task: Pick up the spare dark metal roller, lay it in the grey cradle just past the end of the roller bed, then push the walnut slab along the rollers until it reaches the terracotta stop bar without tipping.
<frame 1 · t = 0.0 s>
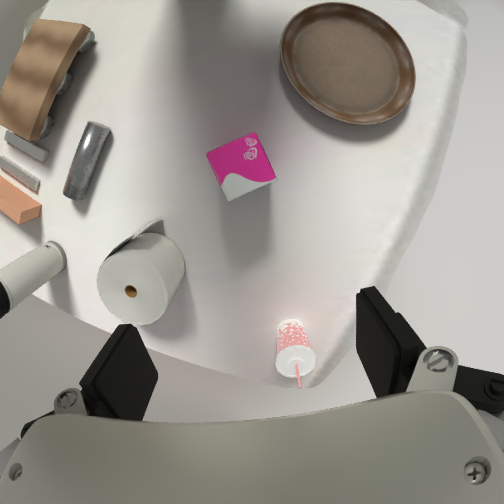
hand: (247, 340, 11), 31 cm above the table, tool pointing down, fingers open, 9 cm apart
beverage cup: (290, 329, 48), on the table
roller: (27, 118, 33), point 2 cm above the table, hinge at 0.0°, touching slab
middle roller: (44, 77, 30), point 2 cm above the table, hinge at 0.0°, touching slab
stop bar: (14, 192, 39), on the table
plant saucer: (346, 63, 33), on the table
toilet tissue: (152, 259, 44), on the table
cradle: (22, 158, 37), on the table
travel mug: (54, 255, 44), on the table
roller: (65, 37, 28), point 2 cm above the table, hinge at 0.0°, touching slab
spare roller: (91, 159, 38), on the table
supplement box: (244, 164, 39), on the table
slab: (38, 75, 29), point 4 cm above the table, touching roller, middle roller, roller
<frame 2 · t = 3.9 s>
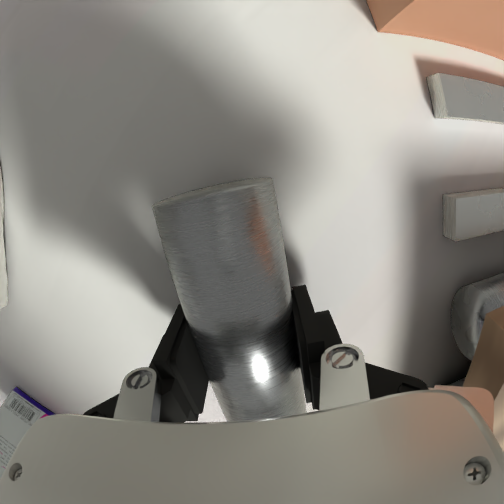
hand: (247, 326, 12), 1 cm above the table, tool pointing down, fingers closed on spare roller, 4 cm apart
middle roller: (497, 386, 13), point 2 cm above the table, hinge at 0.3°, touching slab
stop bar: (494, 40, 7), on the table
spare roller: (249, 315, 13), on the table, touching gripper
supplement box: (41, 414, 18), on the table
when the fingers open (2 cm above the table, at t = 9.3 s): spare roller stays where it is, resting on cradle.
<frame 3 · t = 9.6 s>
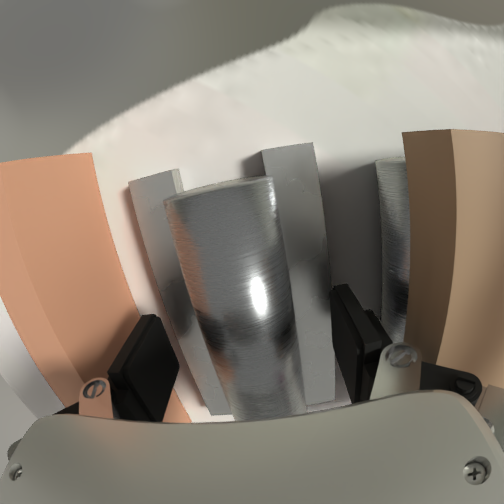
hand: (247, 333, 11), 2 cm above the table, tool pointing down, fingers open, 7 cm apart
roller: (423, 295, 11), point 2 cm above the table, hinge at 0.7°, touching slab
stop bar: (122, 320, 14), on the table
cradle: (250, 305, 14), on the table
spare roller: (254, 304, 14), on the table, tilted 6°, touching cradle
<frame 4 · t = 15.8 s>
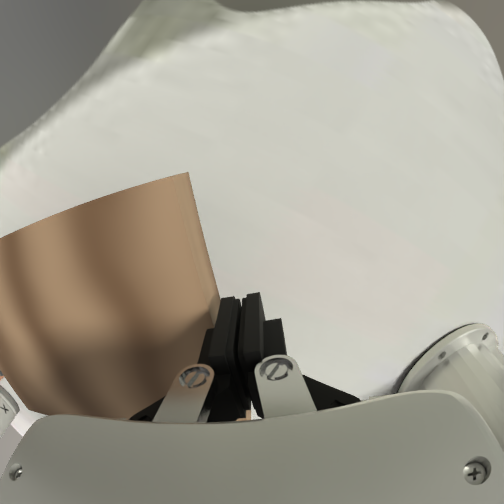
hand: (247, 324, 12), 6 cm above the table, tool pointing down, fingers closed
travel mug: (6, 395, 26), on the table
slab: (75, 327, 15), point 4 cm above the table, touching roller, gripper, middle roller, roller
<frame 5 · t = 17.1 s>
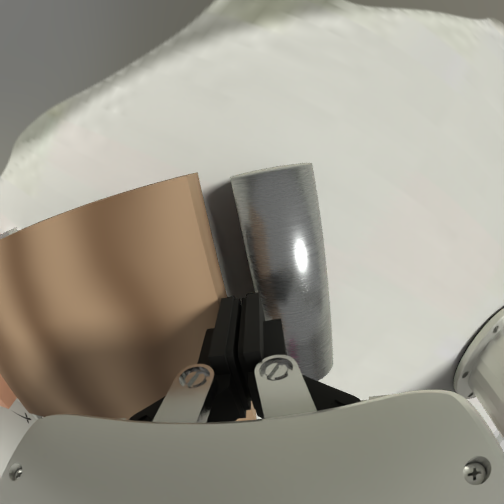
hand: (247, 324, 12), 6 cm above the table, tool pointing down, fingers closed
travel mug: (26, 402, 25), on the table
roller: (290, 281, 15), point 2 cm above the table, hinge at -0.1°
slab: (78, 328, 15), point 4 cm above the table, touching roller, gripper, middle roller
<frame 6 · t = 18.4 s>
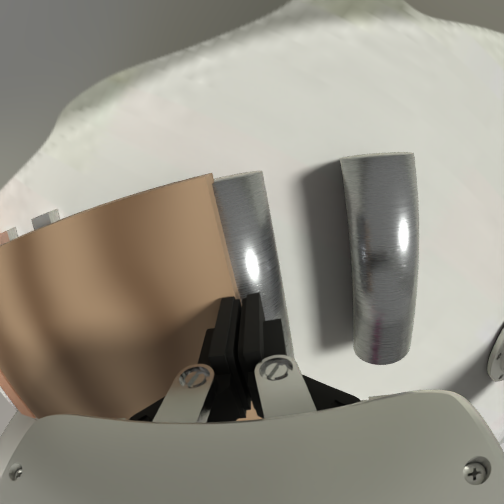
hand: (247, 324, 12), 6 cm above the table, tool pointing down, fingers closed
middle roller: (246, 289, 15), point 2 cm above the table, hinge at 1.4°, touching slab
stop bar: (12, 308, 19), on the table
cradle: (56, 302, 19), on the table
travel mug: (47, 408, 25), on the table
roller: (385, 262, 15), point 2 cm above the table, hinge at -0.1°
slab: (88, 331, 15), point 4 cm above the table, touching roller, gripper, middle roller, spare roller
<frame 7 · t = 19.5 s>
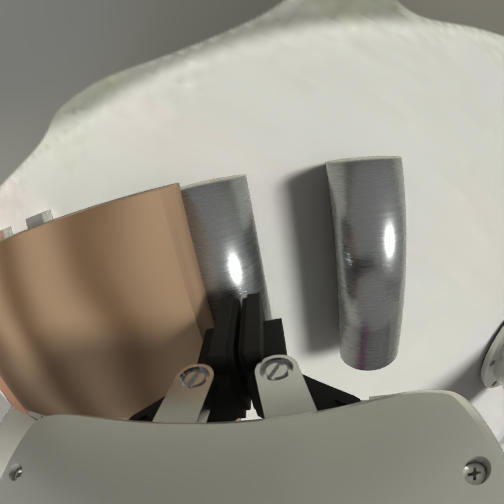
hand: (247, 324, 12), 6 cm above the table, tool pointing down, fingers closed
middle roller: (230, 292, 15), point 2 cm above the table, hinge at 11.7°, touching slab
cradle: (49, 301, 19), on the table
travel mug: (41, 404, 25), on the table
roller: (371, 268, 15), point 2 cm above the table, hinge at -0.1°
slab: (69, 331, 15), point 4 cm above the table, touching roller, middle roller, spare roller
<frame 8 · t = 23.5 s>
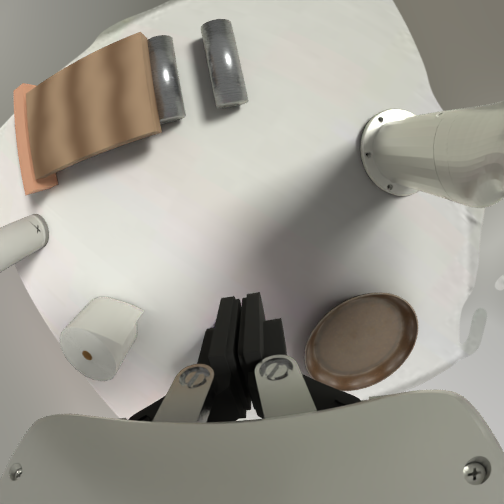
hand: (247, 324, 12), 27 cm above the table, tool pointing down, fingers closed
middle roller: (163, 78, 30), point 2 cm above the table, hinge at 17.0°, touching slab
stop bar: (44, 136, 34), on the table
plant saucer: (359, 336, 45), on the table
toilet tissue: (112, 319, 45), on the table
travel mug: (38, 229, 39), on the table
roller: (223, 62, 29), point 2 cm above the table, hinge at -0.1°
slab: (87, 108, 29), point 4 cm above the table, touching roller, middle roller, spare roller
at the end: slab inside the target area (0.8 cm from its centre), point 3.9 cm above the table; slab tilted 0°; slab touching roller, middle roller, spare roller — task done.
